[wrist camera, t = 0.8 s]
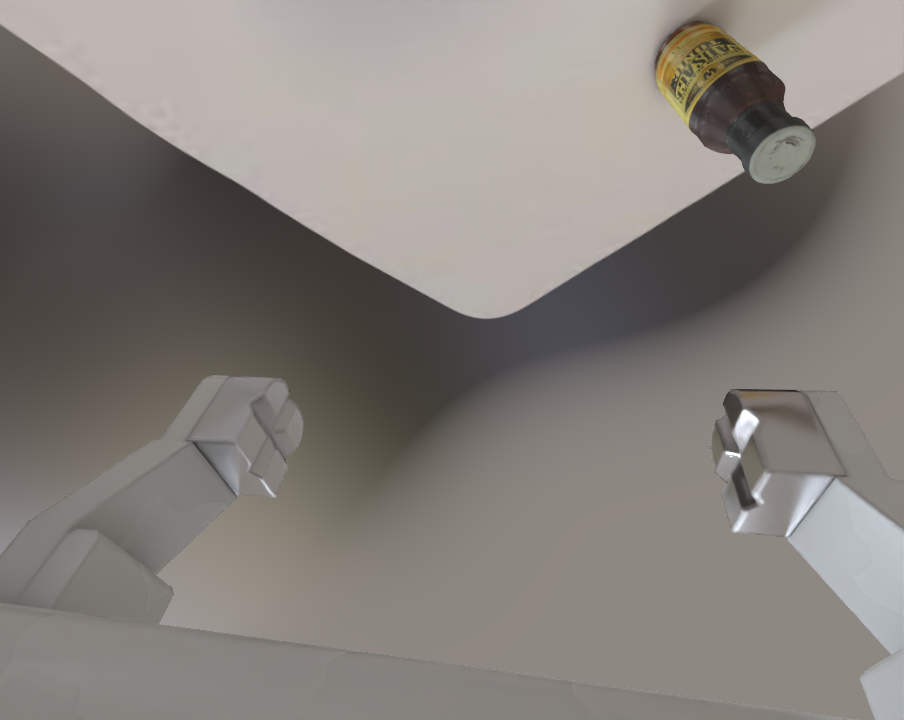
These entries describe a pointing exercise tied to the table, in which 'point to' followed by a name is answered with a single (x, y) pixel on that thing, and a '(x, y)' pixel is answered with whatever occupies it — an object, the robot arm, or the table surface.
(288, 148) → the table surface
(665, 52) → the sauce bottle
